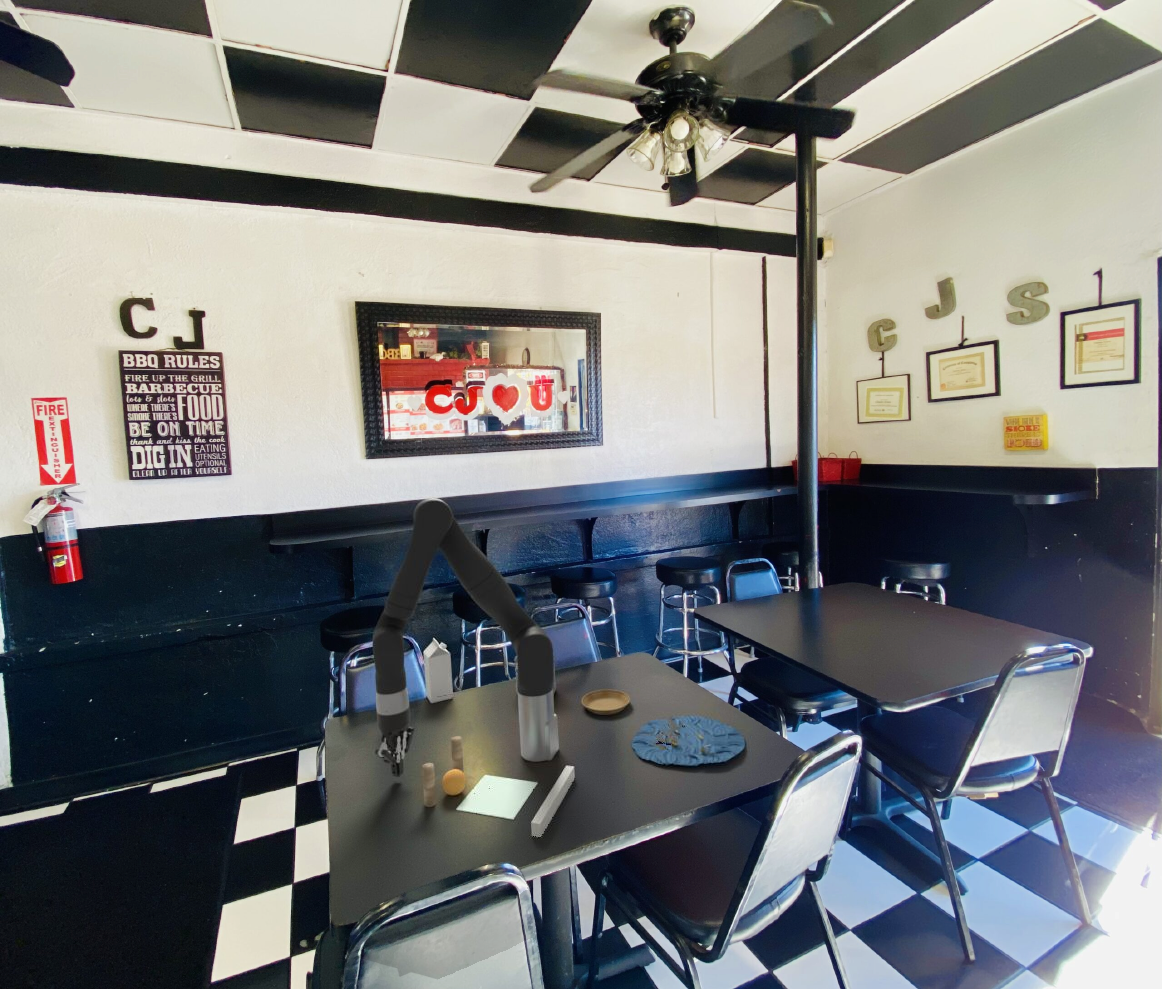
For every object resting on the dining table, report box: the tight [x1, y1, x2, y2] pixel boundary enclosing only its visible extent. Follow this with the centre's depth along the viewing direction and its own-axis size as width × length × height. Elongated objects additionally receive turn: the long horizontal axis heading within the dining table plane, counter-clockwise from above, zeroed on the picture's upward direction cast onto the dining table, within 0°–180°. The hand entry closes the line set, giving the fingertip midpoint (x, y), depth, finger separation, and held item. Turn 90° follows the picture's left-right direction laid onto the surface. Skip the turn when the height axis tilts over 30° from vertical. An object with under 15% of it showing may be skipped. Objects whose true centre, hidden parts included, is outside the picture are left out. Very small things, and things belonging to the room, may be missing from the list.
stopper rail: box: [530, 765, 576, 838], centre depth 131 cm, size 2×22×3 cm, turn 162°
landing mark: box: [455, 774, 539, 821], centre depth 135 cm, size 14×14×1 cm
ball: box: [441, 768, 467, 796], centre depth 137 cm, size 6×6×6 cm
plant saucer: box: [581, 689, 631, 716], centre depth 179 cm, size 15×15×3 cm
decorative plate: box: [631, 715, 746, 767], centre depth 155 cm, size 30×30×5 cm
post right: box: [450, 735, 465, 774], centre depth 145 cm, size 3×3×9 cm
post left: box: [421, 762, 437, 808], centre depth 133 cm, size 3×3×9 cm
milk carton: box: [423, 637, 454, 704], centre depth 190 cm, size 7×7×19 cm
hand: (398, 774), depth 143 cm, fingers closed
